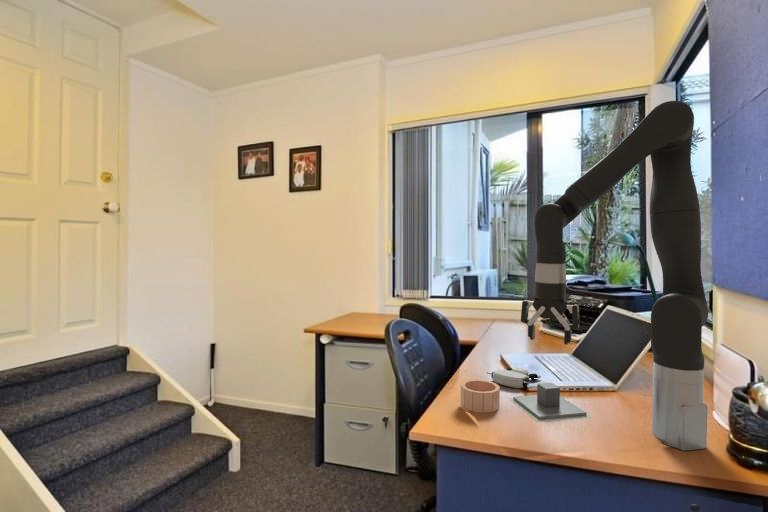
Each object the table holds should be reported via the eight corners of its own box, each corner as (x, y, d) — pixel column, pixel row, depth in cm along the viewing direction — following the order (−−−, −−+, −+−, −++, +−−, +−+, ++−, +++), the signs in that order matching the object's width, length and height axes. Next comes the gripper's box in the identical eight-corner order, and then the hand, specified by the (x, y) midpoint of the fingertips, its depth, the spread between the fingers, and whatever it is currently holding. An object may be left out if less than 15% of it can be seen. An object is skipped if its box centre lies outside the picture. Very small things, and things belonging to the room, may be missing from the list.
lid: (586, 415, 103) (586, 392, 103) (539, 419, 101) (539, 396, 100) (555, 396, 116) (556, 376, 115) (513, 399, 113) (513, 378, 113)
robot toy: (506, 376, 138) (484, 385, 126) (507, 363, 138) (485, 370, 127) (543, 385, 129) (523, 395, 118) (543, 371, 129) (523, 379, 118)
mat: (592, 420, 102) (592, 416, 102) (537, 425, 99) (537, 421, 99) (557, 397, 117) (557, 394, 117) (508, 401, 114) (508, 398, 114)
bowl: (506, 414, 106) (506, 391, 106) (469, 417, 104) (469, 394, 104) (489, 399, 116) (489, 378, 116) (455, 402, 114) (456, 380, 114)
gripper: (582, 281, 106) (581, 342, 107) (526, 277, 114) (525, 335, 115) (577, 283, 100) (575, 349, 100) (518, 279, 108) (517, 340, 109)
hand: (548, 341), depth 108 cm, fingers open, 8 cm apart
